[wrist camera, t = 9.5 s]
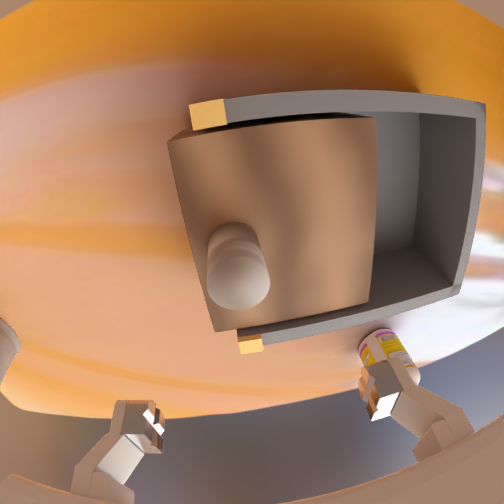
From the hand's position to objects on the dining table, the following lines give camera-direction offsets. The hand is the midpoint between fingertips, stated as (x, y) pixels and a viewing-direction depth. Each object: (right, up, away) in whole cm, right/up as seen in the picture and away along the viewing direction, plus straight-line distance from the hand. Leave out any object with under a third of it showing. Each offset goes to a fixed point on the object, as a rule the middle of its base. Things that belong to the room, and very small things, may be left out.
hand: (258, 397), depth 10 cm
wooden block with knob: (+1, +10, +18) cm, 21 cm away
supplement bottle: (+19, -9, +33) cm, 39 cm away
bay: (+8, +12, +20) cm, 24 cm away
